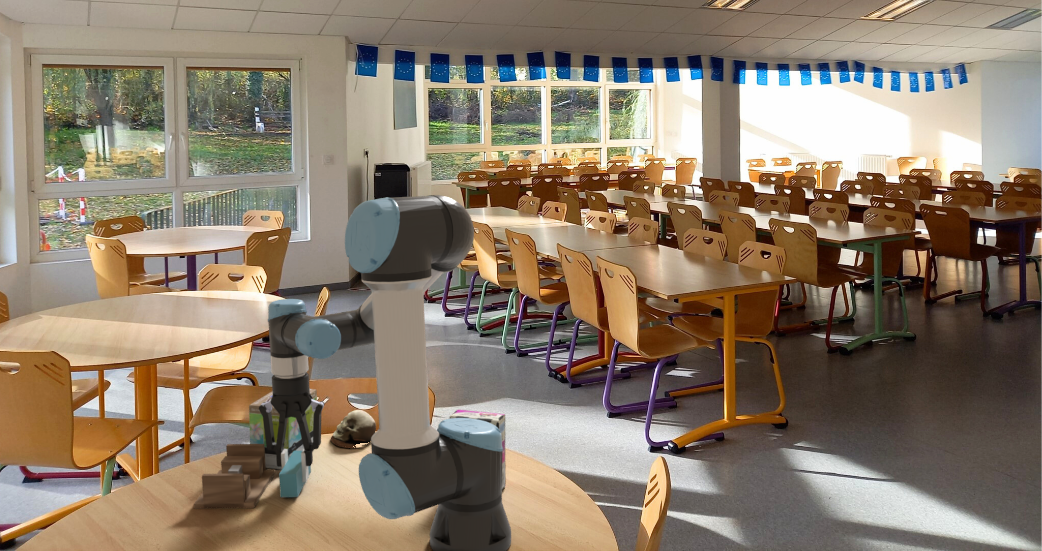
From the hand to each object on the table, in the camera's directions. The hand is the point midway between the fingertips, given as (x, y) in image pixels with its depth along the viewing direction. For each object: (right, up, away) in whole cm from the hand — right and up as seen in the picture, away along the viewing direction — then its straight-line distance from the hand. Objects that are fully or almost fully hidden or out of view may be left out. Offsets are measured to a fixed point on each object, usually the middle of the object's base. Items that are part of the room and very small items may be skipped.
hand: (295, 479), depth 182 cm
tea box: (-7, +1, +17) cm, 19 cm away
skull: (+7, +3, +28) cm, 29 cm away
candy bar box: (+39, -2, +1) cm, 39 cm away
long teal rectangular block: (0, -1, 0) cm, 1 cm away
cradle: (-12, -2, -1) cm, 12 cm away
